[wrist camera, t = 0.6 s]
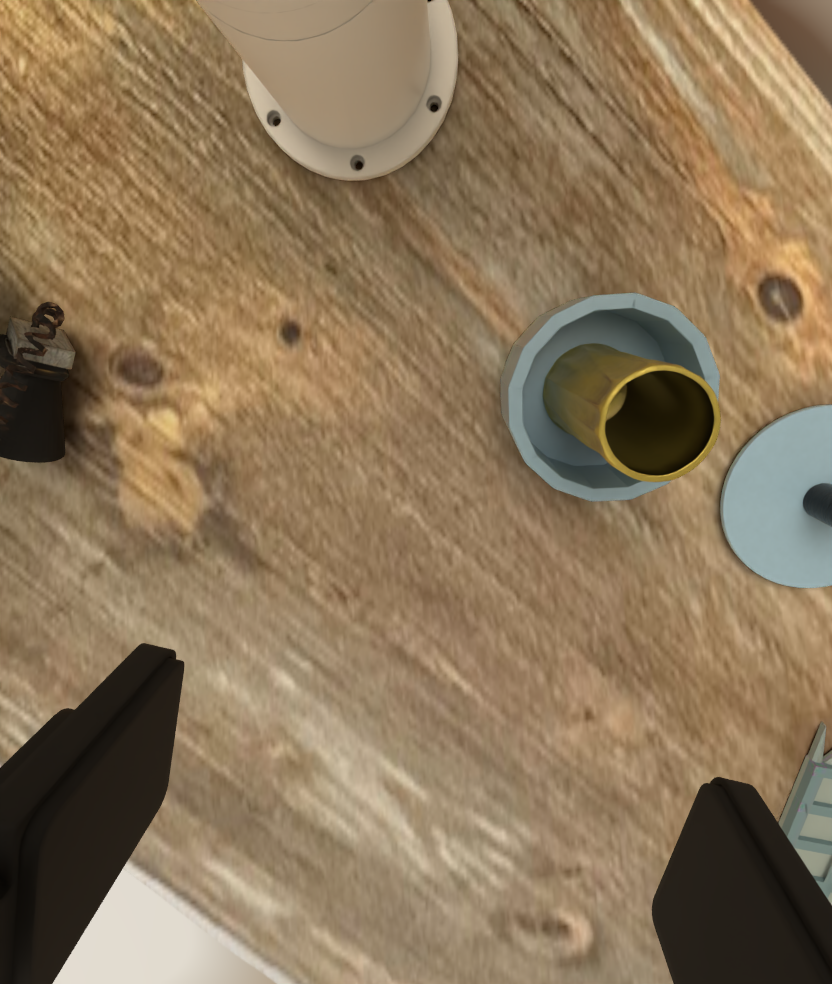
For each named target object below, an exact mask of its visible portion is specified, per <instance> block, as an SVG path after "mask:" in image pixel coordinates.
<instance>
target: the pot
mask: <svg viewBox="0 0 832 984" xmlns="http://www.w3.org/2000/svg"><path fill="white" fill-rule="evenodd" d="M590 343H599V344H604V345H607V346H610V347H612V348H614V349H617V350H618V351H620V352H626V353H629V354H633V355H636V356H639V357H642V358H645V359H651V360H658V361H663V362H667V363H671V364H676V365H680V366H682V367H684V368H686V369H687V370H689V371H691V372H693V373H695V374H697V375H699V376H701V377H702V378H703V379H704V380H705V381H706V382H707V383H708V384H709V385H710V387H711V388H712V389H713V391H714V392H715V395H716V397H717V400H718V395H719V379H720V375H719V372H718V369H717V366H716V363H715V361H714V358H713V355H712V353H711V350H710V347H709V344H708V342H707V339H706V337H704V335H703V334H702V333H701V332H700V331H699V330H698V329H697V328H696V327H695V326H694V325H693V324H692V323H691V322H690V321H689V320H688V319H687V318H686V317H685V316H684V315H683V314H682V313H681V312H680V311H679V310H678V309H677V308H675V306H672V305H669V304H666V303H663V302H661V301H658V300H655V299H652V298H650V297H647V296H644V295H641V294H638V293H623V294H608V295H594V296H589V297H584V298H579V299H574V300H571V301H569V302H567V303H565V304H563V305H561V306H559V307H556V308H554V309H552V310H550V311H549V312H547V313H544V314H542V315H540V316H539V317H537V319H536V320H535V321H534V322H533V323H532V324H531V325H530V326H529V327H528V328H527V329H526V330H525V331H524V332H523V334H522V335H521V336H520V337H519V338H518V340H517V341H516V342H515V343H514V345H513V346H512V349H511V351H510V354H509V356H508V358H507V361H506V363H505V367H504V370H503V373H502V375H501V379H500V384H501V393H500V397H501V413H502V416H503V418H504V420H505V423H506V425H507V427H508V429H509V431H510V434H511V436H512V438H513V440H514V442H515V444H516V446H517V448H518V450H519V452H520V454H521V456H522V458H523V460H524V462H525V463H526V464H527V465H528V466H529V467H530V468H531V469H532V470H533V471H535V472H536V473H537V474H538V475H539V476H540V477H541V478H542V479H543V480H545V481H546V482H547V483H548V484H549V485H550V486H551V487H552V488H554V489H556V490H559V491H562V492H565V493H568V494H571V495H573V496H576V497H579V498H582V499H585V500H588V501H591V502H592V501H614V500H630V499H633V498H636V497H638V496H640V495H643V494H645V493H647V492H650V491H652V490H654V489H657V488H659V487H661V486H664V485H666V484H668V483H669V482H670V481H671V480H670V481H665V482H646V481H640V480H637V479H634V478H631V477H629V476H627V475H626V474H624V473H622V472H621V471H619V470H617V469H616V468H614V467H613V466H611V465H610V464H609V463H608V462H607V461H606V460H605V459H604V458H603V457H602V456H601V455H600V454H599V453H598V452H596V451H595V450H593V449H591V448H589V447H587V446H586V445H585V444H583V443H582V442H581V441H579V440H578V439H577V438H576V437H574V436H573V435H570V434H568V433H566V432H565V431H563V430H562V429H560V428H559V427H558V426H556V425H555V424H554V423H553V421H552V420H551V419H550V417H549V415H548V413H547V411H546V408H545V405H544V400H543V389H544V382H545V378H546V376H547V374H548V372H549V370H550V369H551V367H552V366H553V364H554V363H555V361H556V360H557V359H558V358H559V357H560V356H561V355H562V354H564V353H565V352H567V351H568V350H570V349H572V348H574V347H576V346H579V345H583V344H590Z"/></svg>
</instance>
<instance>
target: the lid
mask: <svg viewBox="0 0 832 984" xmlns="http://www.w3.org/2000/svg"><path fill="white" fill-rule="evenodd" d="M720 515H721V522H722V527H723V530H724V533H725V537H726V539H727V541H728V543H729V545H730V547H731V548H732V550H733V551H734V553H735V554H736V556H737V557H738V558H739V559H740V560H741V561H742V562H743V563H744V564H745V565H746V566H748V567H749V568H750V569H751V570H753V571H754V572H755V573H757V574H758V575H760V576H762V577H763V578H765V579H768V580H770V581H772V582H775V583H778V584H782V585H785V586H791V587H798V588H817V587H826V586H831V585H832V404H826V405H817V406H812V407H807V408H803V409H800V410H797V411H794V412H792V413H789V414H787V415H785V416H783V417H781V418H779V419H777V420H775V421H774V422H772V423H771V424H769V425H767V426H766V427H764V428H763V429H762V430H761V431H760V432H758V433H757V434H756V435H755V436H754V437H753V438H752V439H751V440H750V441H749V442H748V443H747V444H746V445H745V446H744V447H743V449H742V450H741V451H740V453H739V454H738V455H737V457H736V458H735V460H734V462H733V464H732V465H731V467H730V469H729V472H728V474H727V476H726V479H725V482H724V486H723V489H722V495H721V502H720Z"/></svg>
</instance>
